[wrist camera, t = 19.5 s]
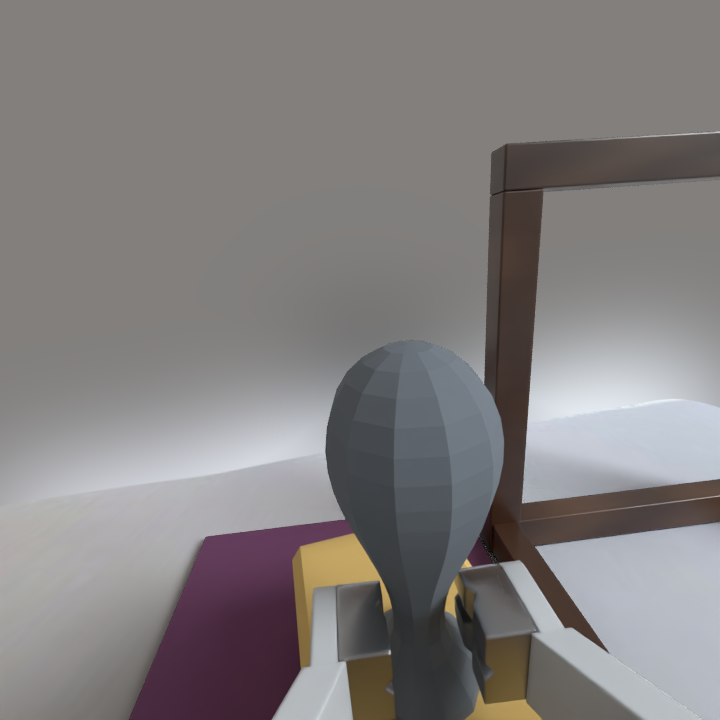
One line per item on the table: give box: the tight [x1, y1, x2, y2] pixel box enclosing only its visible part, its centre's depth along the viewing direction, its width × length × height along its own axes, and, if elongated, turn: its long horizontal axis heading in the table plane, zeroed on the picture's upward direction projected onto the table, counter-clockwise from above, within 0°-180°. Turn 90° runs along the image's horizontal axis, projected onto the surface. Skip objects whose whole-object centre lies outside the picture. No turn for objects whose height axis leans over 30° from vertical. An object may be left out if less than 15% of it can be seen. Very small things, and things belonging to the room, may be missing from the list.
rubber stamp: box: [292, 340, 542, 720], centre depth 9 cm, size 10×6×12 cm, turn 14°
